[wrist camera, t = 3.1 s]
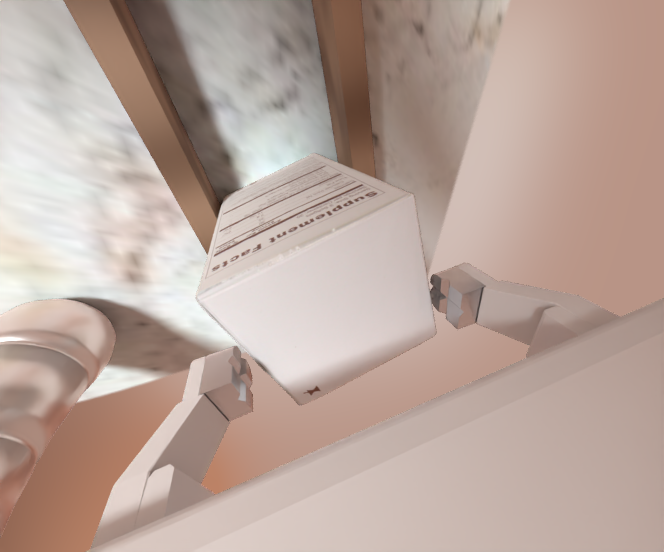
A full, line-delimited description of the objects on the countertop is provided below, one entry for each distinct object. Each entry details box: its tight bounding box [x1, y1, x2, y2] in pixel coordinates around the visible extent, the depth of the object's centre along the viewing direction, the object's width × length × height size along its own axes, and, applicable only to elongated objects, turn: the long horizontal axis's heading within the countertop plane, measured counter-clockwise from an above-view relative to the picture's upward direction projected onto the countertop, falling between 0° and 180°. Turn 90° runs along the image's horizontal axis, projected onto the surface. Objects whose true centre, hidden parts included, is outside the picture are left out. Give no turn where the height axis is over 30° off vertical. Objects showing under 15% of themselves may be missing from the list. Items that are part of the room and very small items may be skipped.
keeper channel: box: [64, 0, 376, 255], centre depth 14 cm, size 22×12×4 cm, turn 11°
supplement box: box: [196, 153, 436, 405], centre depth 14 cm, size 7×7×13 cm
